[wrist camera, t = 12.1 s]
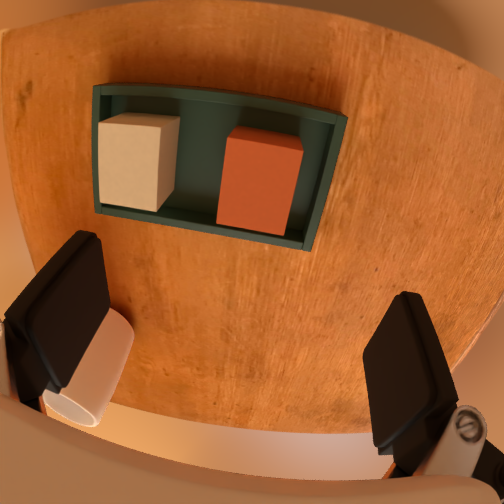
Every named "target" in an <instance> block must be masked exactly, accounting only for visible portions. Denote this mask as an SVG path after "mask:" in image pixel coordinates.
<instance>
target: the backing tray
mask: <svg viewBox="0 0 504 504" xmlns="http://www.w3.org/2000/svg"><path fill="white" fill-rule="evenodd" d="M124 112H132V113H147V114H159V115H170V116H179V117H180V125H179V135H178V146H177V157H176V170H175V183H174V190H173V191H172V193H171V194H170V195H169V196H168V198H167V199H166V200H165V201H164V203H163V204H162V205H161V207H160V208H159V209H158V210H157V212H155V211H149V210H143V209H137V208H131V207H125V206H119V205H113V204H107V203H101V202H100V194H99V169H98V124H99V122H101V121H104V120H106V119H109V118H111V117H114V116H117V115H119V114H122V113H124ZM347 120H348V117H347V116H345V115H344V114H343V113H341V112H338V111H334V110H330V109H326V108H322V107H318V106H313V105H309V104H305V103H300V102H295V101H290V100H285V99H280V98H275V97H269V96H264V95H258V94H252V93H245V92H238V91H231V90H223V89H215V88H206V87H196V86H185V85H171V84H153V83H105V84H99V85H94V86H93V97H92V175H93V193H94V207H95V213H97V214H104V215H109V216H115V217H121V218H127V219H133V220H138V221H144V222H150V223H155V224H161V225H167V226H172V227H178V228H184V229H189V230H195V231H200V232H206V233H211V234H217V235H222V236H228V237H233V238H239V239H244V240H250V241H255V242H260V243H266V244H271V245H277V246H282V247H287V248H293V249H298V250H301V249H302V250H303V251H308V252H311V249H312V246H313V242H314V239H315V236H316V232H317V229H318V226H319V222H320V219H321V216H322V212H323V209H324V205H325V202H326V198H327V195H328V191H329V188H330V184H331V181H332V177H333V173H334V170H335V166H336V162H337V159H338V155H339V151H340V147H341V143H342V139H343V136H344V132H345V128H346V124H347ZM237 125H239V126H245V127H251V128H257V129H263V130H268V131H274V132H279V133H284V134H289V135H294V136H299V137H300V139H301V143H302V147H303V151H304V152H303V157H302V161H301V165H300V170H299V174H298V178H297V183H296V187H295V191H294V195H293V200H292V204H291V208H290V212H289V216H288V220H287V224H286V229H285V233H284V235H277V234H272V233H266V232H261V231H256V230H250V229H245V228H239V227H234V226H228V225H222V224H217V223H216V220H217V212H218V204H219V196H220V188H221V180H222V172H223V165H224V157H225V150H226V143H227V137H228V136H229V135H230V133H231V132H232V131H233V129H234V128H235V127H236V126H237Z"/></svg>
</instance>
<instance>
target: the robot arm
mask: <svg viewBox="0 0 504 504" xmlns="http://www.w3.org/2000/svg"><path fill="white" fill-rule="evenodd" d="M110 303H111V302H110V296H109V290H108V284H107V278H106V272H105V266H104V259H103V252H102V244H101V240H100V239H99V238H97V235H96V234H95V233H93V232H88V231H83V230H78V231H77V232H76V233H75V234H74V235H73V236H72V237H71V238H70V239H69V240H68V241H67V242H66V243H65V244H64V245H63V246H62V247H61V248H60V249H59V250H58V251H57V252H56V254H55V255H54V256H53V257H52V258H51V259H50V260H49V261H48V262H47V263H46V264H45V266H44V267H43V268H42V269H41V270H40V271H39V272H38V273H37V275H36V276H35V277H34V278H33V279H32V280H31V282H30V283H29V284H28V285H27V286H26V287H25V289H24V290H23V291H22V292H21V293H20V295H19V296H18V297H17V298H16V300H15V301H14V302H13V303H12V305H11V306H10V307H9V308H8V310H7V311H6V312H5V314H4V315H5V317H6V318H5V319H4V321H3V322H2V321H1V319H0V504H504V454H503V453H502V452H501V451H500V450H498V449H497V448H496V447H495V446H494V445H493V444H491V443H490V442H489V441H488V440H486V436H487V424H486V422H485V419H484V417H483V416H482V414H481V413H480V412H479V411H478V410H477V409H476V408H474V407H472V406H469V405H462V406H460V407H458V408H457V404H456V402H457V401H458V400H459V399H458V395H457V392H456V389H455V386H454V382H453V380H452V377H451V373H450V370H449V367H448V364H447V361H446V358H445V356H444V353H443V350H442V347H441V344H440V342H439V339H438V336H437V334H436V331H435V329H434V326H433V323H432V321H431V318H430V316H429V314H428V311H427V309H426V306H425V304H424V302H423V299H422V297H421V295H420V294H418V293H413V292H407V291H403V292H401V293H400V295H396V296H395V297H394V299H393V301H392V303H391V304H390V306H389V308H388V310H387V312H386V313H385V315H384V317H383V319H382V320H381V322H380V324H379V326H378V327H377V329H376V331H375V332H374V334H373V336H372V337H371V339H370V341H369V342H368V344H367V346H366V347H365V349H364V352H363V364H364V371H365V377H366V384H367V391H368V399H369V407H370V415H371V424H372V433H373V442H374V445H375V447H378V454H379V455H393V458H394V462H393V464H392V465H391V466H390V468H389V469H388V471H387V472H386V474H385V475H384V476H383V478H382V479H377V480H351V481H350V480H349V481H321V480H297V479H282V478H271V477H262V476H253V475H245V474H238V473H232V472H225V471H220V470H213V469H208V468H203V467H198V466H193V465H189V464H185V463H181V462H176V461H172V460H168V459H165V458H161V457H157V456H153V455H150V454H146V453H143V452H140V451H136V450H133V449H130V448H127V447H124V446H121V445H118V444H115V443H112V442H109V441H106V440H103V439H101V438H98V437H96V436H93V435H91V434H88V433H86V432H83V431H81V430H78V429H76V428H73V427H71V426H68V425H66V424H64V423H62V422H60V421H57V420H55V419H53V418H51V417H49V416H47V413H46V409H45V405H44V400H43V396H42V394H43V392H44V390H45V389H47V390H49V391H51V392H53V393H56V394H58V395H59V393H60V391H61V389H62V388H66V387H67V386H68V384H69V382H70V380H71V378H72V376H73V374H74V372H75V370H76V369H77V367H78V365H79V363H80V361H81V359H82V357H83V355H84V354H85V352H86V350H87V348H88V346H89V344H90V343H91V341H92V339H93V337H94V336H95V334H96V332H97V330H98V328H99V327H100V325H101V323H102V321H103V320H104V318H105V316H106V315H107V313H108V311H109V309H110Z"/></svg>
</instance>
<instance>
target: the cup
mask: <svg viewBox="0 0 504 504" xmlns="http://www.w3.org/2000/svg"><path fill="white" fill-rule="evenodd" d="M133 341H134V331H133V328H132V327H131V325H130V324H129V322H128V321H127V320H126V319H125V318H124V317H123V316H122V315H120V314H119V313H118V312H117V311H115V310H113V309H112V308H110V309H109V311H108V313H107V315H106V316H105V318H104V320H103V321H102V323H101V325H100V327H99V328H98V330H97V332H96V334H95V336H94V337H93V339H92V341H91V343H90V344H89V346H88V348H87V350H86V352H85V354H84V355H83V357H82V359H81V361H80V363H79V365H78V367H77V369H76V370H75V372H74V374H73V376H72V378H71V380H70V382H69V384H68V386H67V387H66V388H62V389H61V391H60V393H59V395H58V394H56V393H53V392H51V391H49V390H47V389H45V390H44V392H43V394H42V396H43V400H44V403H45V404H46V405H47V406H49V407H50V408H51V409H52V410H54V411H55V412H56V413H58V414H60V415H61V416H63V417H64V418H66V419H68V420H70V421H72V422H75V423H77V424H80V425H83V426H88V427H95V426H97V425H98V423H99V422H100V420H101V418H102V416H103V414H104V412H105V410H106V407H107V406H108V404H109V402H110V399H111V397H112V395H113V393H114V391H115V388H116V386H117V383H118V381H119V378H120V376H121V373H122V371H123V368H124V366H125V363H126V360H127V358H128V355H129V352H130V349H131V346H132V343H133Z"/></svg>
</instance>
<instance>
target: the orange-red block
mask: <svg viewBox="0 0 504 504" xmlns="http://www.w3.org/2000/svg"><path fill="white" fill-rule="evenodd" d="M303 152H304V151H303V147H302V143H301V139H300V137H299V136H294V135H289V134H284V133H279V132H274V131H268V130H263V129H257V128H251V127H245V126H239V125H237V126H236V127H235V128H234V129H233V131H232V132H231V133H230V135H229V136H228V137H227V143H226V150H225V157H224V165H223V172H222V180H221V188H220V196H219V204H218V212H217V220H216V223H217V224H222V225H228V226H234V227H239V228H245V229H250V230H256V231H261V232H266V233H272V234H277V235H284V233H285V229H286V224H287V220H288V216H289V212H290V208H291V204H292V200H293V195H294V191H295V187H296V183H297V178H298V174H299V170H300V165H301V161H302V157H303Z"/></svg>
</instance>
